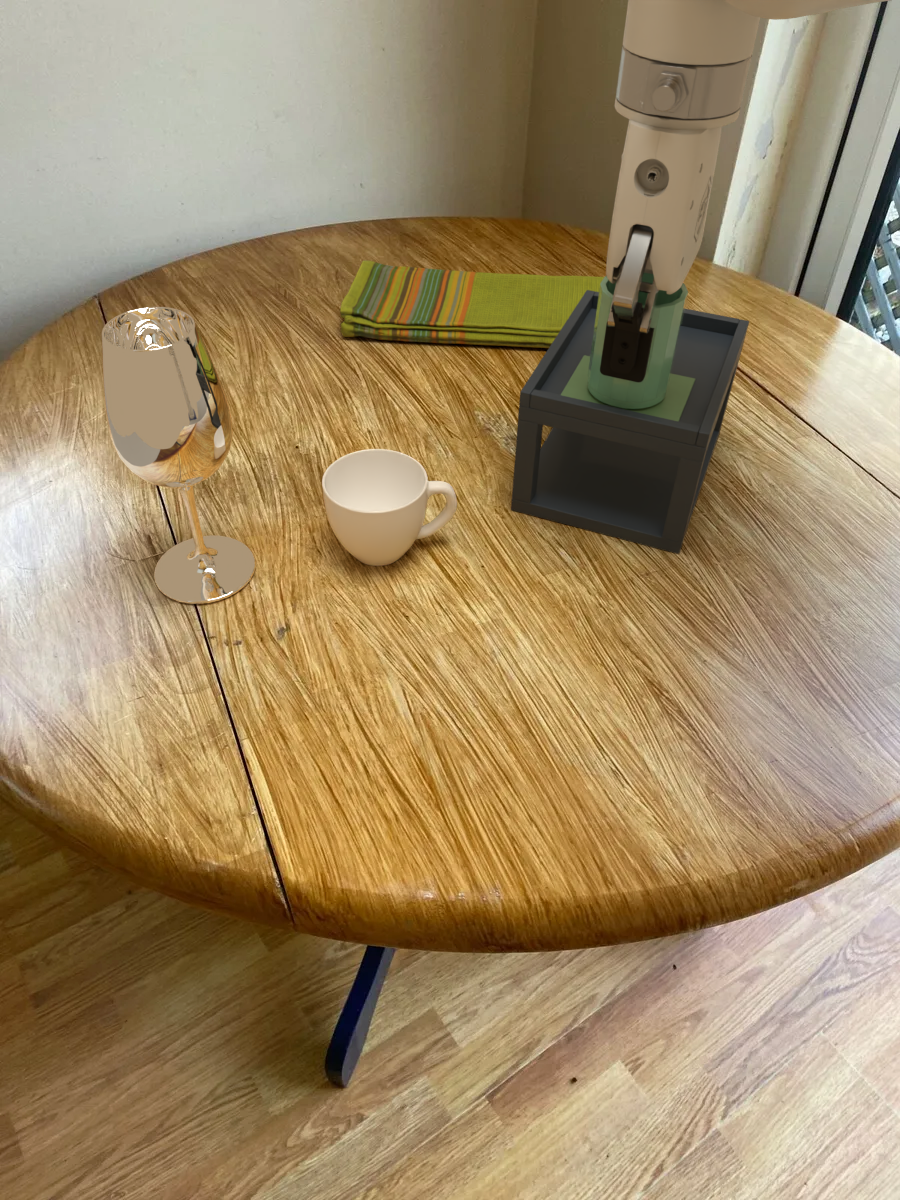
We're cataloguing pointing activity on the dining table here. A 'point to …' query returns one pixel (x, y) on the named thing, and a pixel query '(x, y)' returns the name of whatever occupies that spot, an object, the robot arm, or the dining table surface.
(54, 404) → the dining table surface
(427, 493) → the cup
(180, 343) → the wineglass
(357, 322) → the dish towel
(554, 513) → the tray
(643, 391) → the tumbler
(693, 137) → the robot arm
